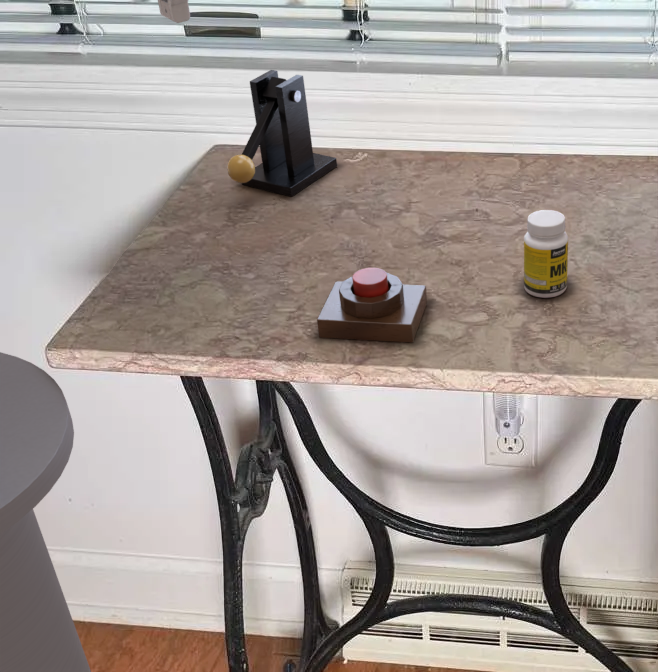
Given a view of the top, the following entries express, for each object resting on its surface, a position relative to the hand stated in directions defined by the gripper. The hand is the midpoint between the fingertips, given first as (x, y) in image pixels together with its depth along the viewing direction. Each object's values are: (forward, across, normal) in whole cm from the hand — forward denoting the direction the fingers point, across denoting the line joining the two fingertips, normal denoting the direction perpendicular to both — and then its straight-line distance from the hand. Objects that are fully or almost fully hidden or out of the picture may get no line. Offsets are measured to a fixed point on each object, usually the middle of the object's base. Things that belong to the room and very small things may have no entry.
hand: (176, 18), depth 115 cm
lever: (+23, -18, +17) cm, 33 cm away
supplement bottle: (+29, +25, +26) cm, 46 cm away
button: (+25, +18, +8) cm, 32 cm away
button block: (+29, +18, +8) cm, 35 cm away
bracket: (+29, -19, +20) cm, 40 cm away
